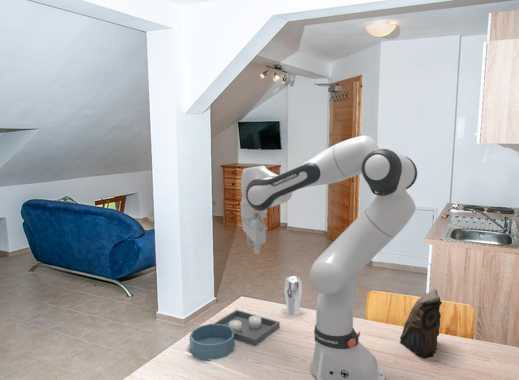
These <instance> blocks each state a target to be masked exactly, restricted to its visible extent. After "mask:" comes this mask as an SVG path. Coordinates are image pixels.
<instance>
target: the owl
mask: <svg viewBox="0 0 519 380" xmlns="http://www.w3.org/2000/svg"><path fill="white" fill-rule="evenodd" d="M442 303H443V302H442V300H441V297H440V296H439V295H438V290H437V289H436V288H435V289H434V290H431V291H430V292H427V293H425V294H423V295H422V296H421V297H420V298H418V300H417V301H416V302H415V303H414V305H413V306H412V308H411V310H410V311H409V314H408V318H407V319H406V321H405V323H404V325H403V330H402V333H401V335H400V337H399V339H400V341H399V344H401V345H402V346H404V347H405V348H406V349H408V350H409V351H410V352H411V353H413V354H414V355H415V356H416V357H418V358H421V359H424V360H425V359H426V360H427V359H430V358H433V357H435V354H436V353H437V352H436V351H437V350H438V348H437V346H438V336H439V335H440V329H441V316H442V314H441V312H440V310H441V309H440V308H441V305H442Z"/></svg>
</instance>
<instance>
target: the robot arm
mask: <svg viewBox="0 0 519 380" xmlns="http://www.w3.org/2000/svg"><path fill="white" fill-rule="evenodd" d="M358 175H362V177H363V179H364V180H365V182H366V184H367V185H368V187H369V189H370V190H371V192H372V194H373V195H375V198H374V200H373V201H372V202H371V203H370V204H369V205H368V206H367V207H366V208H365V209H364V210H363V211H362V212H361V213H360V215H358V216H357V217H356V219H355V220H353V222H352V223H351V224H350V225H349V226H348V227H346V229H345V230H343V232H342V233H341V234H340V235H338V237H337V238H336V239H334V241H332V242H331V244H330V245H329V246H328V247H327V248H326V249H325V250H324V251H323V252H322V253H321V254H320V255H319V256H318V257H317V258H316V259H315V260H314V262H313V263H312V265H311V267H310V271H309V281H310V284H311V285H312V286H311V287H313V289H314V290H315V291H316V292H318V296H317V300H316V311H315V312H316V314H315V317H316V319H315V320H316V324H315V326H314V342H315V343H314V352H313V358H312V362H311V365H310V372H311V374H312V375H313V376H314V378H316V380H386V374H385V372H384V370H383V369H381V368H378V363H377V361H378V360H377V358H376V356H375V355H374V354H373V352H371V351H370V350H368V348H367V347H365V346H364V345H363V344H362V343H361V342H360V341H359V339H360V337H361V331H359V332H356V330H355V328H354V327H353V326H354V304H355V303H354V302H355V295H356V289H357V280H358V275H359V273H360V272H361V271H362V270H363V269H364V268H365V267H366V266H367V265H368V264H369V263H370V262H371V261H372V259H374V258H375V256H376V255H378V254H379V253H380V252H381V251H382V250H383V249H384V248H385V247H386V246H387V245H388V244H389V243H390V242H391V241H393V239H394V238H395V237H396V236H397V235H398V234H399V233H400V232H401V231H403V229H404V228H405V227H406V225H408V223H409V221H411V219H412V217H413V216H414V214H415V212H416V203H415V201H414V198H413V197H412V196H411V195H410V194H409V193H408V191H407V190H408V189H410V188H411V187H412V186H414V184H415V183H416V181H417V177H418V168H417V166H416V164H415V163H414V161H413V160H412V159H411V158H409V157H408V156H405V155H403V153H402V152H398V151H395V150H391V149H387V148H380V147H379V146H378V144H377V142H376V141H375V140H374V139H373V138H372V137H371V136H368V135H359V136H355V137H352V138H351V137H350V138H348V139H346V140H342V141H340V142H338V143H336V144H334V145H332V146H330V147H328V148H325V149H324V150H322V151H320V152H319V153H318V154H316V155H314V156H313V157H312V158H309V160H306V161H305V162H303V163H302V164H300V165H299V166H297V167H295V168H293V169H291V170H287V171H286V172H283V173H281V174H276V173H275V172H272V171H271V170H269V169H268V168H267V167H266V166H265V165H263V164H256V165H250V166H246V167H244V168H243V170H242V173H241V179H240V181H241V182H240V192H241V200H240V206H239V212H240V216H241V227H242V231H243V232H244V233H245V234H246V240H247V246H248V247H253V246H254V248H253V253H254V254H255V255H260V253H261V247H262V245H264V244H265V243H266V241H267V232H266V228H267V227H266V223H265V220H263V219H264V218H265V217H267V210H268V209H269V208H273V207H276V206H279V205H282V204H285V203H286V202H288V201H289V200H290V199H291V197H292V195H293V192H296V191H298V190H300V189H304V188H309V187H314V186H323V185H330V184H336V183H339V182H343V181H347V180H348V179H351V178H353V177H355V176H358Z"/></svg>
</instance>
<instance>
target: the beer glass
mask: <svg viewBox="0 0 519 380" xmlns="http://www.w3.org/2000/svg"><path fill="white" fill-rule="evenodd" d="M302 283H303V282H302V278H301V277H300V276H295V275H294V276H292V275H290V276H287V277H285V278H284V297H285V303H286V310H285V314H286V315H287V316H291V317H297V316H300V315H301V308H300V307H301V306H300V305H301V299H302V294H303V285H302Z"/></svg>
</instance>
